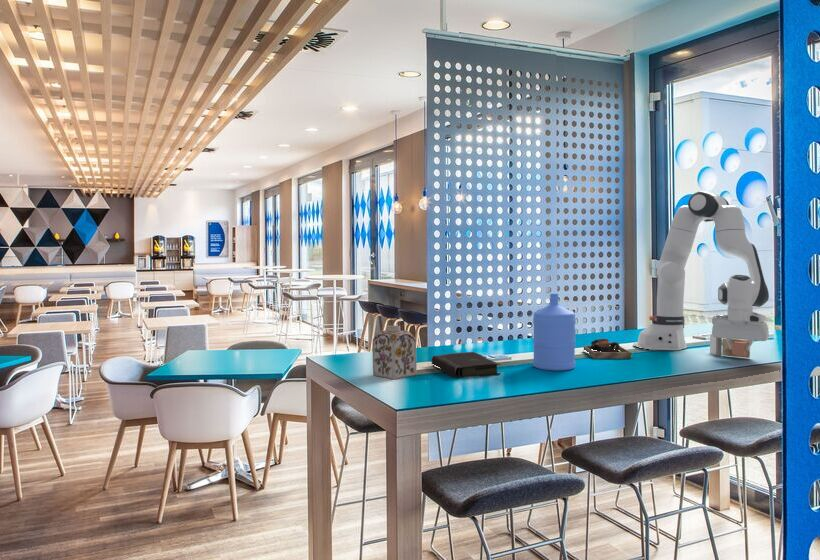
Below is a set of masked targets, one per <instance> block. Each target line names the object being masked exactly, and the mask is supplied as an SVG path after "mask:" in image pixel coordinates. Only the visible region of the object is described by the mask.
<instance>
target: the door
mask: <svg viewBox="0 0 820 560" xmlns="http://www.w3.org/2000/svg"><path fill="white" fill-rule="evenodd" d="M735 341H736V342H747V346H748V345H749V344H750V343H748V340H742V339H731V341H730V342H731V344H732V343H733V342H735ZM722 356H724V357H725V356H726V357H734V358H735V357H736V358H746V359H750V358H751V350H750V351H747V355H746V356H735V355H732V350H729V345H728V343H727V342H726V338H722Z"/></svg>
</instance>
